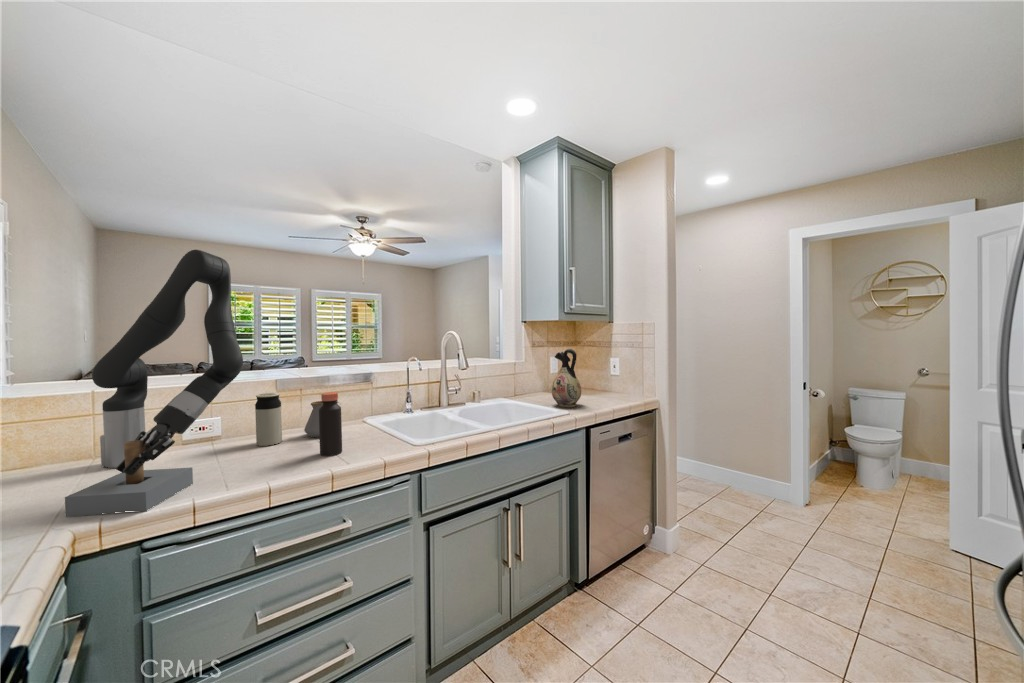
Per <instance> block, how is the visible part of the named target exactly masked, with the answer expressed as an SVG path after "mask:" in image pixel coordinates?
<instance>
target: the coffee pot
mask: <svg viewBox="0 0 1024 683" xmlns="http://www.w3.org/2000/svg"><path fill="white" fill-rule="evenodd" d="M337 404H340V402H339V401H337ZM322 405H323V402H322V400H319V401H318V400H317V401H313V402H312V401H311V403H310V406H312V410H311V412H310V414H309V416H308V420H307V422H306V424H305V427H304V429H303V430H304V433H305V434H307V435H308V436H309V437H310V436H311V438H314V437H317V438H319V409H320V407H321V406H322Z"/></svg>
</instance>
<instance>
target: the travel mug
mask: <svg viewBox="0 0 1024 683" xmlns="http://www.w3.org/2000/svg"><path fill="white" fill-rule="evenodd" d="M280 395H281V393H280V392H265V393H263V392H262V393H258V394H256V395H255V397H256V400H257V401H256V403H255V404H254V409H255V410H254V413H255V440H256V443H255V444H256V445H257V446H258V445H259V447H269V446H268V445H271V446H275V445H274V444H276V445H279V444H280V443H282V442H283V424H282V423H283V420H282V401H281V400H280V399H279V398H280ZM278 443H279V444H278Z"/></svg>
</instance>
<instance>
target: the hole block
mask: <svg viewBox="0 0 1024 683" xmlns="http://www.w3.org/2000/svg"><path fill="white" fill-rule="evenodd" d="M193 477H194V475H193V467H191V466H190V467H177V468H176V467H175V468H157V469H144V481H143V482H141V483H139V484H130V485H126V474H125V473H122V472H120V473H116V475H112V476H110V477H108V478H106V479H104V480H102V481H99V482H97V483H94V484H92V485H90V486H87V487H85V488H83V489H81V490H78V491H75V492H73V493H71V494H69V495H67V496H64V508H65V510H64V511H65V517H66V518H72V517H73V516H74V517H86V516H87V515H88V516H97V515H96V514H102V513H115V512H125V511H146V512H148V511H149V510H148V509H150V508H152V507H153V506H155V505H157V504H158V505H160V504H161V503H160V502H162V501H163V502H165V501H166V500H165V499H167V498H168V499H170V498H172V497H173V496H175V495H176V494H175V493H177V492H179V491H180V492H182V491H183V490H182V489H184V488H185V489H187V488H188V486H189V485H190V486H192V485H194V478H193ZM191 484H192V485H191ZM190 486H189V487H190ZM186 487H187V488H186ZM185 489H184V490H185ZM181 490H182V491H181ZM180 492H179V493H180ZM174 494H175V495H174ZM177 494H178V493H177ZM172 495H173V496H172ZM171 496H172V497H171ZM169 497H170V498H169ZM168 499H167V500H168ZM164 500H165V501H164ZM163 502H162V503H163ZM159 503H160V504H159ZM158 505H157V506H158ZM155 507H156V506H155ZM153 508H154V507H153ZM153 508H152V509H153ZM147 510H148V511H147ZM150 510H151V509H150ZM84 515H86V516H84ZM74 517H73V518H74Z"/></svg>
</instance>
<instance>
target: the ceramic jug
mask: <svg viewBox="0 0 1024 683" xmlns="http://www.w3.org/2000/svg"><path fill="white" fill-rule="evenodd" d="M568 354H571V355H572V360H571V358H570V356H568ZM554 358H555V359H557V360H559V361H561V367H560V369H559V371H558V372H557V373H556V375H555V377H554V380H553V381H552V384H551V395H552V398H553V400H554V401H555V402H556V403H557V406H558V407H559V408H560V407H561V408H573V407H574V408H575V407H576V406H577V403H578V401H579V400H580V398H581V397H582V387H581V383H580V381H579V379H578V377H577V374H576V372H575V370H574V369H575V367H576V362H577V352H576V351H575V350H574V349H572V348H568V349H565V350H564V351H561V352H557V353H556V354H555V355H554ZM570 362H571V365H569V363H570Z"/></svg>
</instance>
